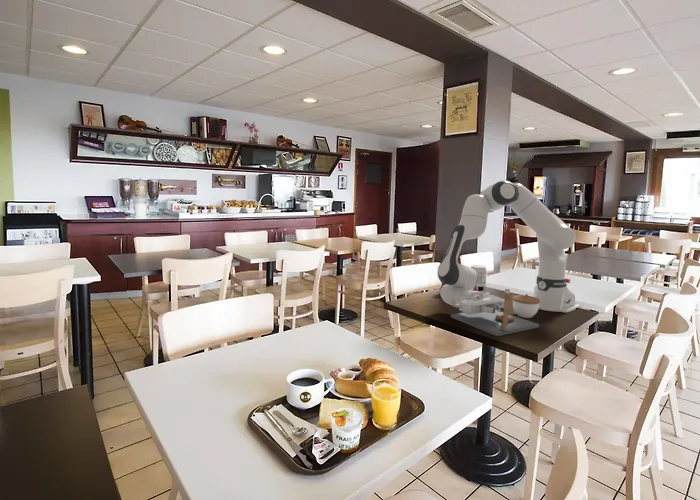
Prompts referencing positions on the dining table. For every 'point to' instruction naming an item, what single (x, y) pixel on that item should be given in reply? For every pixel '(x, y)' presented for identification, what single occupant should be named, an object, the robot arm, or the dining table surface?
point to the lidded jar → (525, 305)
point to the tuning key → (505, 311)
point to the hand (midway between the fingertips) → (498, 310)
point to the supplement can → (480, 278)
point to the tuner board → (494, 322)
